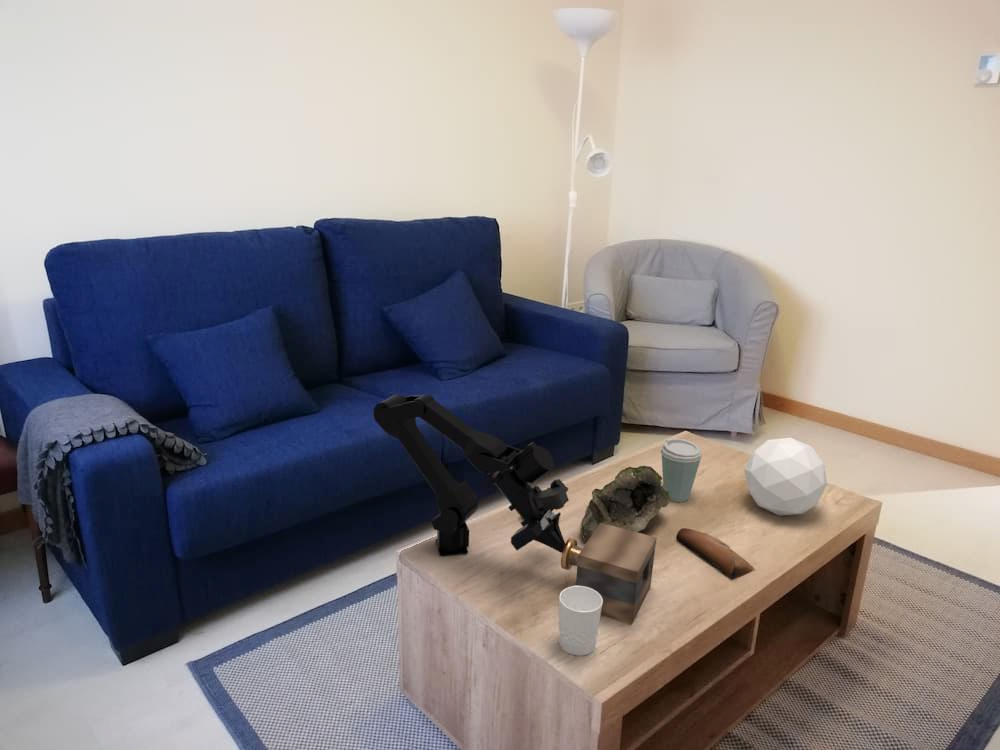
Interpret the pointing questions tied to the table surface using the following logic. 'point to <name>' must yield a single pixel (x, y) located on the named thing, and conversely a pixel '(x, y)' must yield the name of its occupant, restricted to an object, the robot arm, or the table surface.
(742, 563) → the sunglasses case
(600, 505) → the hollow geode rock
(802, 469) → the geometric sphere
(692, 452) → the disposable coffee cup
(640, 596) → the walnut block
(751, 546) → the table surface
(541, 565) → the table surface
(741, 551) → the table surface
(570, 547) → the capped peg
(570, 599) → the white cup
